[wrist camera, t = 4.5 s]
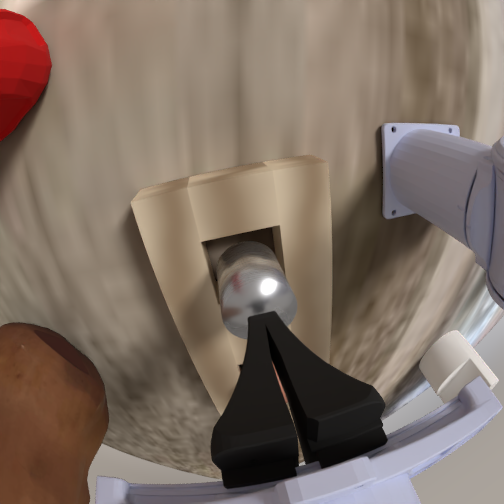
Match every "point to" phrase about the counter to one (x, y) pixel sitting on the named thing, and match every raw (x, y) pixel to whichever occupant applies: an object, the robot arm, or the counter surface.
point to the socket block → (230, 223)
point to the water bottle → (20, 68)
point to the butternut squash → (47, 417)
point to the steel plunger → (252, 286)
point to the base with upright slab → (453, 366)
